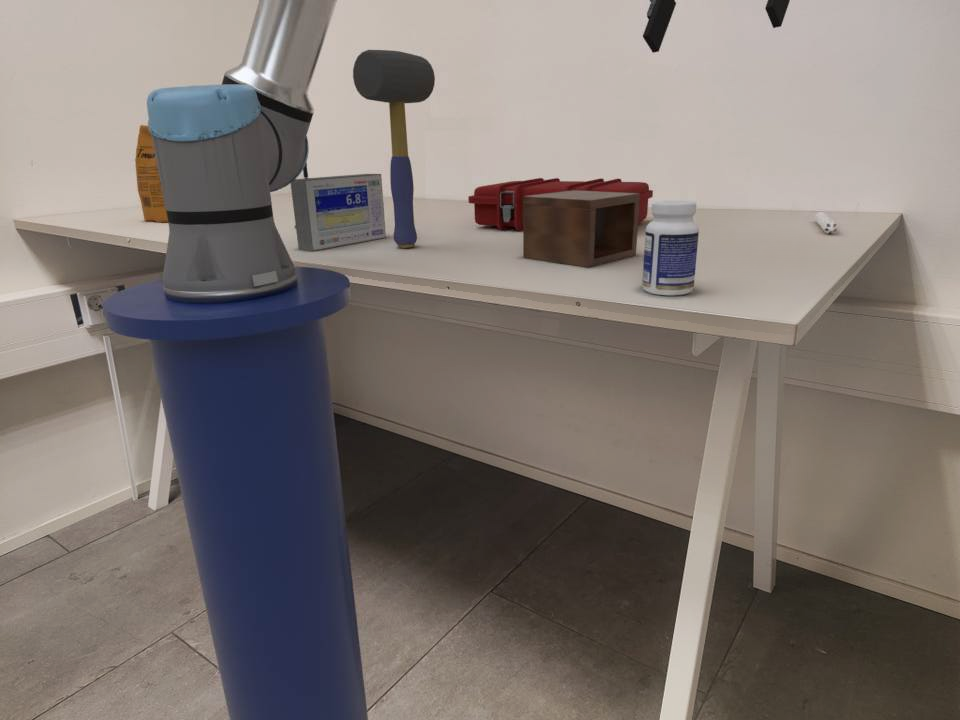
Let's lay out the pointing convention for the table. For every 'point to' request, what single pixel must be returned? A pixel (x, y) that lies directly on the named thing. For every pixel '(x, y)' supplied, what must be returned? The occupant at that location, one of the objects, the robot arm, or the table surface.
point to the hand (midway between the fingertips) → (707, 32)
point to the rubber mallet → (396, 120)
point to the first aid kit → (506, 199)
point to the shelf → (580, 227)
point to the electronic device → (337, 210)
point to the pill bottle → (670, 249)
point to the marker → (825, 222)
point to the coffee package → (149, 178)
